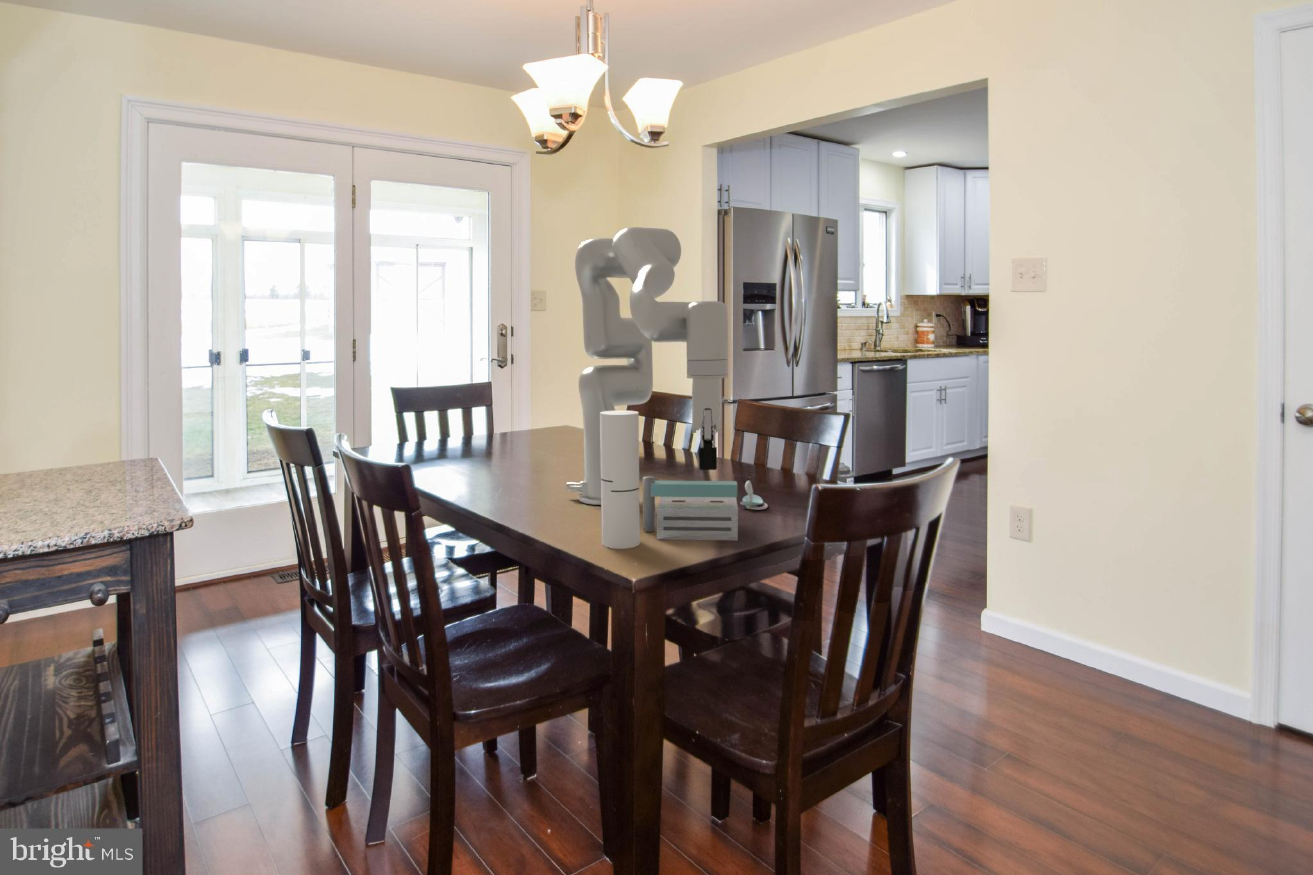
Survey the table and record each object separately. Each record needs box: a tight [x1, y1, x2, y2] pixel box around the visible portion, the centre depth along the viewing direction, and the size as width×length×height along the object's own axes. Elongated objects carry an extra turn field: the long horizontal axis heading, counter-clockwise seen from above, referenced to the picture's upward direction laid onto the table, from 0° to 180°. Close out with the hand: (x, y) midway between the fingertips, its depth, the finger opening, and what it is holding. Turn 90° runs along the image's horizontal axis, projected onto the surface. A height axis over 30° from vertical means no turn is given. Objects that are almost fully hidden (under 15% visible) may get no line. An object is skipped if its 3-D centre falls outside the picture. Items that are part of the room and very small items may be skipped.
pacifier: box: [740, 480, 769, 511], centre depth 180 cm, size 7×6×6 cm
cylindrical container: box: [600, 409, 641, 550], centre depth 150 cm, size 7×7×25 cm
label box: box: [656, 497, 739, 541], centre depth 159 cm, size 16×12×6 cm
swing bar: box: [642, 475, 738, 532], centre depth 159 cm, size 19×4×11 cm, turn 86°
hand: (708, 468), depth 148 cm, fingers closed
